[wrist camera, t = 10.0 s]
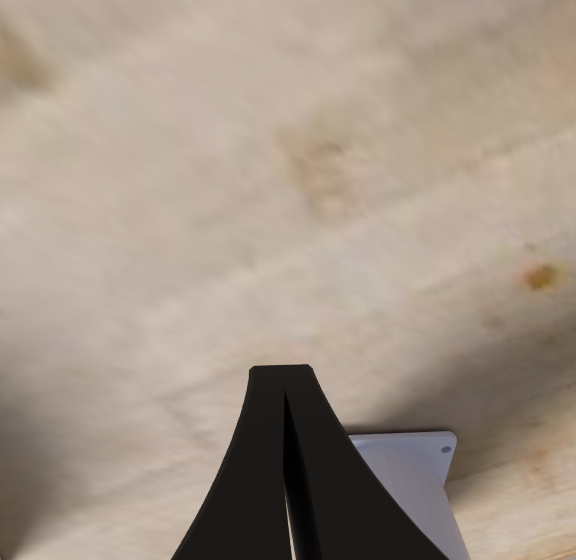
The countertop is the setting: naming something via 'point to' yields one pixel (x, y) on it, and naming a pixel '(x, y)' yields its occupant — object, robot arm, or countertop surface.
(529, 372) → the countertop surface
